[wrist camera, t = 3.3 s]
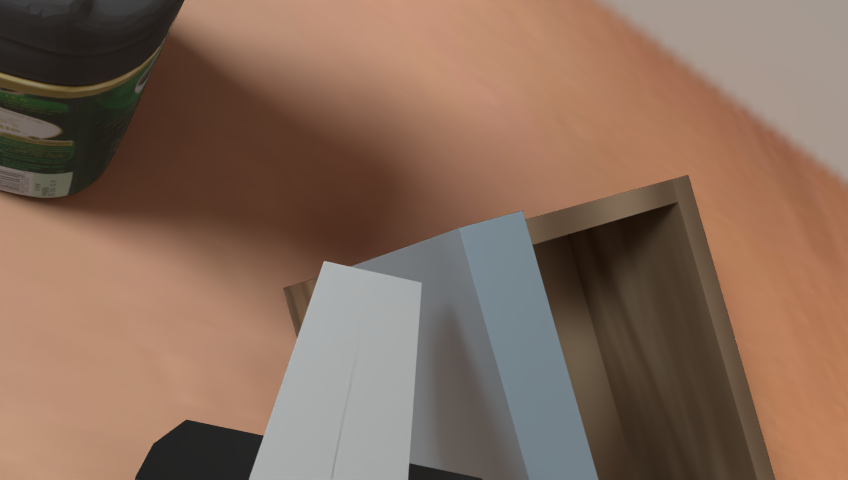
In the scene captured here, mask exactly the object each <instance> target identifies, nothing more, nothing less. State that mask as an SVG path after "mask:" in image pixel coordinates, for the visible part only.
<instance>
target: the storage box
mask: <svg viewBox="0 0 848 480" xmlns="http://www.w3.org/2000/svg"><path fill="white" fill-rule="evenodd" d="M525 221H526V225H527V228H528V232H529V235H530V239H531V242H532V246H533V249H534V253H535V257H536V260H537V264H538V267H539V271H540V274H541V278H542V281H543V285H544V288H545V292H546V296H547V299H548V303H549V306H550V310H551V313H552V317H553V320H554V324H555V328H556V331H557V335H558V338H559V342H560V345H561V349H562V352H563V356H564V360H565V363H566V367H567V370H568V374H569V377H570V381H571V384H572V388H573V391H574V395H575V399H576V402H577V406H578V409H579V413H580V416H581V420H582V423H583V427H584V431H585V434H586V438H587V441H588V445H589V448H590V452H591V455H592V459H593V462H594V466H595V470H596V473H597V477H598V480H775V477H774V474H773V470H772V467H771V463H770V460H769V456H768V453H767V449H766V446H765V442H764V439H763V435H762V432H761V428H760V425H759V421H758V418H757V414H756V411H755V407H754V404H753V400H752V397H751V393H750V390H749V386H748V383H747V379H746V376H745V372H744V369H743V365H742V362H741V358H740V355H739V351H738V348H737V344H736V341H735V337H734V334H733V330H732V327H731V323H730V320H729V316H728V313H727V309H726V306H725V302H724V299H723V295H722V292H721V288H720V285H719V281H718V278H717V274H716V271H715V267H714V264H713V260H712V257H711V253H710V250H709V246H708V243H707V239H706V236H705V232H704V229H703V225H702V222H701V218H700V215H699V211H698V208H697V204H696V200H695V197H694V193H693V190H692V186H691V183H690V179H689V176H688V175H686V176H682V177H679V178H675V179H671V180H668V181H664V182H661V183H657V184H653V185H650V186H646V187H642V188H639V189H635V190H631V191H628V192H624V193H621V194H617V195H613V196H610V197H606V198H602V199H599V200H595V201H591V202H588V203H584V204H581V205H577V206H573V207H570V208H566V209H562V210H559V211H555V212H551V213H548V214H544V215H540V216H537V217H533V218H530V219H526V220H525ZM317 280H318V278H315V279H312V280H309V281H305V282H302V283H299V284H295V285H292V286H289V287H285V288H283V289H284V292H285V296H286V300H287V303H288V307H289V310H290V314H291V318H292V321H293V325H294V329H295V332H296V336H297V338H298V335H299V332H300V329H301V326H302V323H303V320H304V318H305V315H306V312H307V309H308V306H309V303H310V300H311V297H312V294H313V291H314V288H315V286H316V283H317Z"/></svg>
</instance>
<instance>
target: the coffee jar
mask: <svg viewBox="0 0 848 480" xmlns="http://www.w3.org/2000/svg"><path fill="white" fill-rule="evenodd" d="M183 2H184V0H0V190H3V191H7V192H10V193H15V194H20V195H26V196H31V197H39V198H55V197H62V196H67V195H71V194H74V193H76V192H78V191H80V190H82V189H84V188H85V187H87V186H88V185H90V184H91V183H93V182H94V181H95V180H96V179H97V178H98V177H99V176H100V175H101V174H102V172H103V171H104V170H105V168H106V167H107V165H108V163H109V162H110V160H111V158H112V156H113V154H114V153H115V151H116V149H117V147H118V145H119V143H120V141H121V139H122V137H123V135H124V133H125V131H126V129H127V127H128V124H129V122H130V120H131V118H132V116H133V113H134V111H135V109H136V106H137V104H138V102H139V99H140V96H141V93H142V91H143V89H144V87H145V85H146V83H147V80H148V78H149V76H150V74H151V72H152V69H153V67H154V65H155V63H156V60H157V58H158V56H159V54H160V52H161V50H162V47H163V45H164V42H165V40H166V38H167V35H168V33H169V31H170V28H171V26H172V25H173V23H174V21H175V19H176V17H177V15H178V12H179V10H180V8H181V6H182V4H183Z"/></svg>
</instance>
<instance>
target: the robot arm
mask: <svg viewBox="0 0 848 480" xmlns="http://www.w3.org/2000/svg"><path fill="white" fill-rule="evenodd" d="M421 287H422V283H421V282H417V281H412V280H408V279H403V278H399V277H394V276H390V275H385V274H381V273H376V272H372V271H367V270H363V269H358V268H354V267H349V266H345V265H340V264H336V263H331V262H327V261H324V262H323V265H322V268H321V271H320V274H319V277H318V280H317V283H316V286H315V288H314V291H313V294H312V297H311V300H310V303H309V306H308V309H307V312H306V315H305V318H304V320H303V323H302V326H301V329H300V332H299V335H298V338H297V341H296V344H295V347H294V350H293V353H292V355H291V358H290V361H289V364H288V367H287V370H286V373H285V376H284V379H283V382H282V385H281V387H280V390H279V393H278V396H277V399H276V402H275V405H274V408H273V411H272V414H271V417H270V419H269V422H268V425H267V428H266V431H265V434H264V436H262V435H257V434H253V433H248V432H243V431H238V430H233V429H229V428H224V427H219V426H214V425H209V424H205V423H200V422H195V421H190V420H185V421H184V422H182V423H181V424H180V425H178V426H177V427H176V428H174V429H173V430H172V431H170V432H169V433H168V434H166V435H165V436H163V437H162V438H161V439H159V440H158V441H157V442H155V443H154V444H153V446H152V447H151V449H150V451H149V453H148V455H147V457H146V459H145V460H144V462H143V464H142V466H141V468H140V470H139V472H138V473H137V475H136V477H135V480H483V479H482V478H478V477H473V476H469V475H464V474H459V473H454V472H449V471H445V470H440V469H435V468H430V467H425V466H421V465H416V464H411V463H409V459H410V444H411V430H412V416H413V402H414V387H415V373H416V359H417V344H418V330H419V316H420V301H421Z"/></svg>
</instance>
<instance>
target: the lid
mask: <svg viewBox="0 0 848 480" xmlns="http://www.w3.org/2000/svg"><path fill="white" fill-rule="evenodd" d="M351 267H354V268H358V269H363V270H367V271H372V272H376V273H381V274H385V275H390V276H394V277H399V278H403V279H408V280H412V281H417V282H421V283H422V287H421V301H420V316H419V330H418V344H417V359H416V373H415V387H414V402H413V416H412V430H411V444H410V459H409V463H411V464H416V465H421V466H425V467H430V468H435V469H440V470H445V471H449V472H454V473H459V474H464V475H469V476H473V477H478V478H482V479H483V480H598V477H597V473H596V470H595V466H594V462H593V459H592V455H591V452H590V448H589V445H588V441H587V438H586V434H585V431H584V427H583V423H582V420H581V416H580V413H579V409H578V406H577V402H576V399H575V395H574V391H573V388H572V384H571V381H570V377H569V374H568V370H567V367H566V363H565V360H564V356H563V352H562V349H561V345H560V342H559V338H558V335H557V331H556V328H555V324H554V320H553V317H552V313H551V310H550V306H549V303H548V299H547V296H546V292H545V288H544V285H543V281H542V278H541V274H540V271H539V267H538V264H537V260H536V257H535V253H534V249H533V246H532V242H531V239H530V235H529V232H528V228H527V225H526V221H525V217H524V214H523V211H519V212H516V213H512V214H508V215H505V216H501V217H497V218H494V219H490V220H486V221H483V222H479V223H476V224H472V225H468V226H465V227H461V228H458V229H455V230H452V231H449V232H446V233H444V234H441V235H438V236H435V237H432V238H430V239H427V240H424V241H421V242H418V243H415V244H413V245H410V246H407V247H404V248H401V249H399V250H396V251H393V252H390V253H387V254H385V255H382V256H379V257H376V258H373V259H370V260H368V261H365V262H362V263H359V264H356V265H354V266H351Z"/></svg>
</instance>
